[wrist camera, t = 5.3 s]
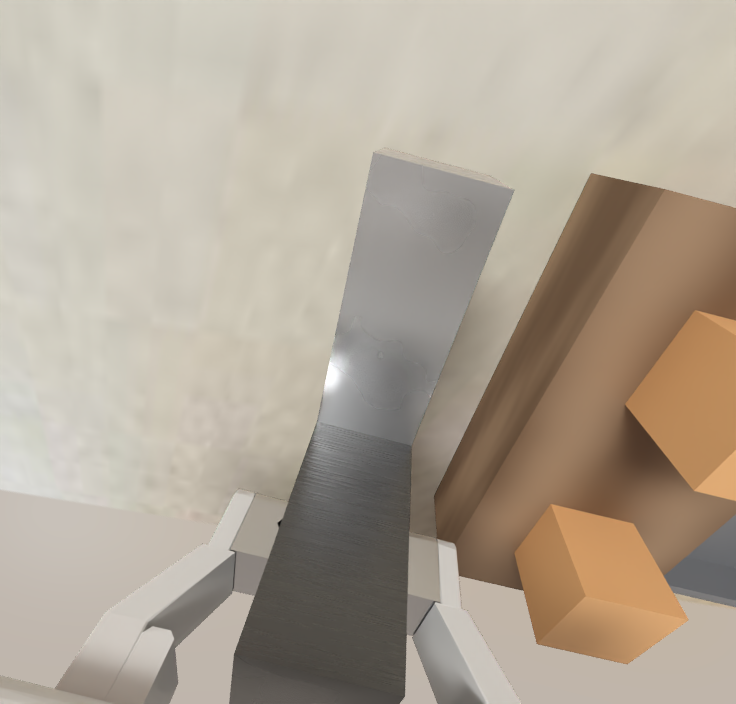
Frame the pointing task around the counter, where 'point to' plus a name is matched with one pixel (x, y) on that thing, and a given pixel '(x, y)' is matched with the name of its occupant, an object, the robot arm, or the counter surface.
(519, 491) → the ledge
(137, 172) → the counter surface
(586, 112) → the counter surface
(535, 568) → the block
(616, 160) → the counter surface
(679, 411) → the block
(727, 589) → the tray
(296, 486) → the grey stick with cube
